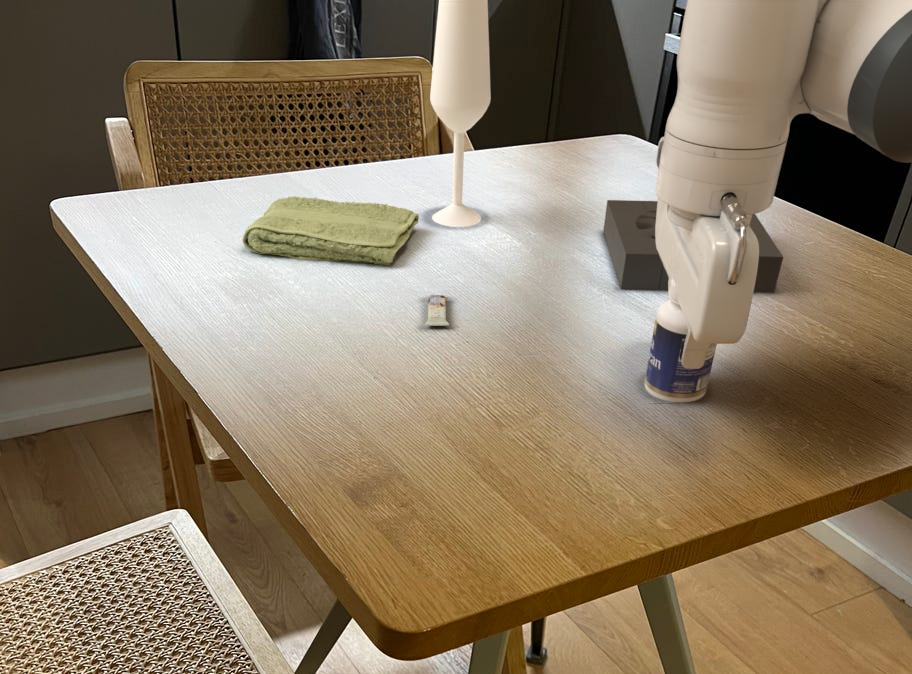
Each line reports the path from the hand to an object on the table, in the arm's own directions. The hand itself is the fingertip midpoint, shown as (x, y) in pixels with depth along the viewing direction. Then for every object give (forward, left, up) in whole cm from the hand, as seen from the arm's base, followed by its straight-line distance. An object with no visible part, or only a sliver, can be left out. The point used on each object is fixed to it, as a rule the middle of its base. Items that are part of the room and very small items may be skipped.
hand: (683, 346), depth 82 cm
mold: (-6, -29, -4) cm, 30 cm away
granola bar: (+21, -14, -4) cm, 26 cm away
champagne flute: (+19, -41, -4) cm, 45 cm away
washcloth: (+33, -33, -4) cm, 47 cm away
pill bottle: (0, 0, -4) cm, 4 cm away
